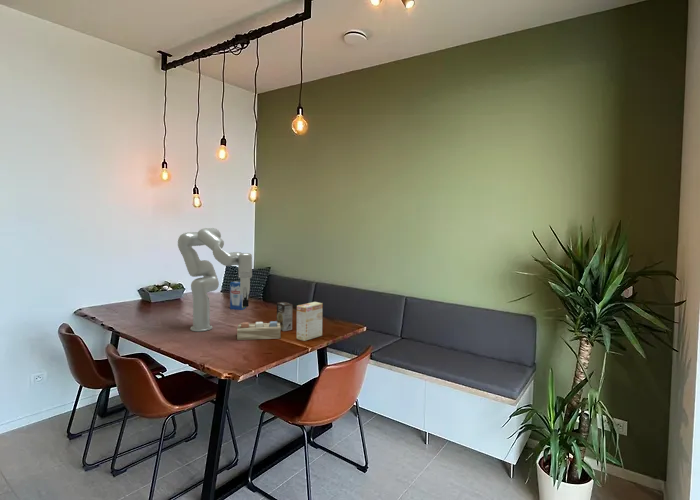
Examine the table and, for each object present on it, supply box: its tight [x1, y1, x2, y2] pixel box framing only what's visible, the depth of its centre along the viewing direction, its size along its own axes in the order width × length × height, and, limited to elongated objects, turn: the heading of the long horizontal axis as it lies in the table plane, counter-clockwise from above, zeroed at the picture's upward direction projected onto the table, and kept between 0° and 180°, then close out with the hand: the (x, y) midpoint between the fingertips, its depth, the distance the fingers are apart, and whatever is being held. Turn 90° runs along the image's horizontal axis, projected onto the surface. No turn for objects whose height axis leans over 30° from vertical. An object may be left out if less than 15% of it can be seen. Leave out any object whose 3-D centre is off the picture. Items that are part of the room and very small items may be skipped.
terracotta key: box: [240, 321, 250, 328], centre depth 233 cm, size 4×4×4 cm
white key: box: [255, 321, 264, 327], centre depth 235 cm, size 4×4×4 cm
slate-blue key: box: [269, 320, 277, 327], centre depth 236 cm, size 4×4×4 cm
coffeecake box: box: [296, 301, 324, 342], centre depth 235 cm, size 15×7×20 cm, turn 141°
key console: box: [236, 322, 282, 341], centre depth 235 cm, size 12×24×6 cm, turn 102°
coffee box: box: [276, 301, 293, 332], centre depth 251 cm, size 9×6×16 cm
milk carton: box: [229, 281, 247, 311], centre depth 303 cm, size 10×6×20 cm, turn 73°
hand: (245, 306), depth 232 cm, fingers closed
